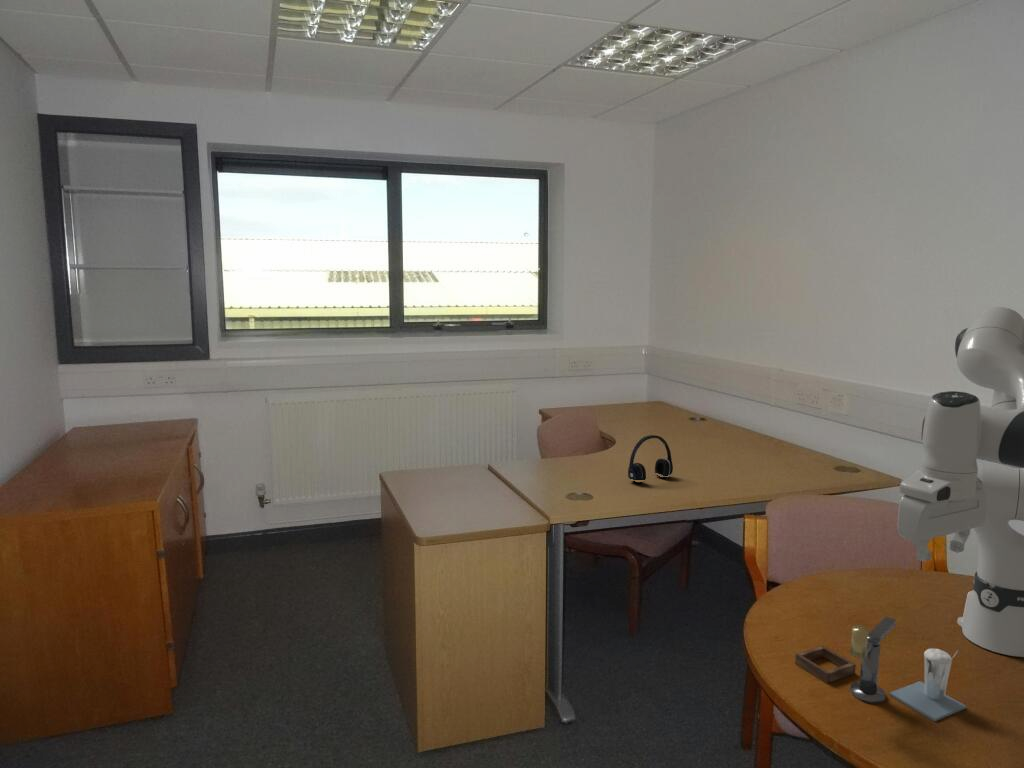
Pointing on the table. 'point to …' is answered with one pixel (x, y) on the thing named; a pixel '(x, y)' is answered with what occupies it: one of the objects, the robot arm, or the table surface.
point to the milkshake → (936, 673)
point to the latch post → (869, 679)
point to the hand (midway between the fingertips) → (940, 555)
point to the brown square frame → (827, 676)
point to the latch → (869, 637)
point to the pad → (926, 702)
